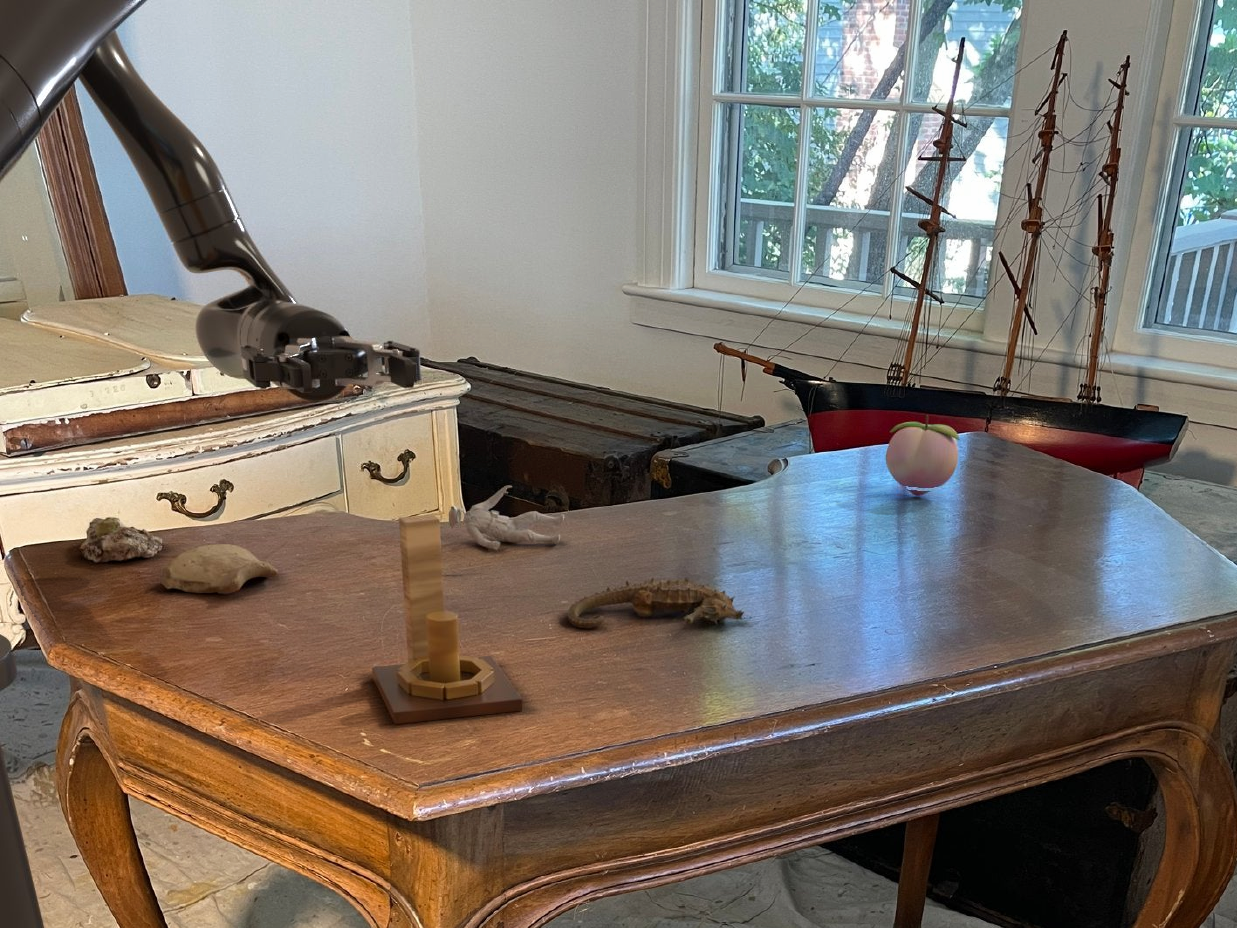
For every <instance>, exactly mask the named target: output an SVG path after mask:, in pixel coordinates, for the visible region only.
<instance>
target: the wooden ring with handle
mask: <svg viewBox="0 0 1237 928" xmlns="http://www.w3.org/2000/svg"><path fill="white" fill-rule="evenodd" d="M398 526H399V527H398V528H399V540H400V541H399V542H400V556H401V557H400V559H401V573H402V587H403V589H402V590H403V604H404V616H405V617H404V618H405V619H404V620H405V633H406V649H407V662H406V663H404V664H405V665H403V666H402V667H401V668H399V669H398V670H397V671H398V672H397V679H398V684H399V685H400V686H401V687H402V688H403V689H404V690H405V691H406V692H407V693H408V694H412V695H413V696H420V697H427V698H433V699H440V700H443V699H444V698H446V699H447V700H448V699H454V698H460V697H466V696H473V695H478V693H482V692H484V691H485V690H486V689H487V688H488V687H489V686H490V685H491V684H493V683H494V669H493V668H492V667H491V666H490V665H488V664H487V663H486V662H485V661H484V660H482V659H478V658H476V657H477V656H476V657H475V656H469V655H468V656H467V655H463V654H459V660H460V671H465V672H472V673H473V674H474V675H475V676H474V677H473V678H472V679H470V680H464V681H458V682H452V683H438V682H431V681H424V680H418V679H417V678H416V677H417V676H419V675H420V674H421V673H425V672H429V655H428V637H427V620H426V616H427V615H428V614H429V613H432V612H437V611H445V604H444V603H445V602H444V583H443V564H442V563H443V562H442V542H441V523H440V518H438V517H437V516H436V515H434V514H423V515H422V514H421V515H413V516H402V517H399V518H398Z"/></svg>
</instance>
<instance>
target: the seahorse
mask: <svg viewBox="0 0 1237 928" xmlns="http://www.w3.org/2000/svg"><path fill="white" fill-rule="evenodd" d="M625 584H626V585H621V586H620V587H614V588H612V587H610V586H607V588H606V590H602V591H600V592H598V591H596V592H595V594H590V595H589V596H585V595H584V596H583V598H582V599H579V600H578V601H575V603H573V604H571V606H570V607H569V609H568V611H567V618H568V621H569V623H570V625H571V626H574V627H576V628H580V629H591V628H596V627H598V626H600V625H602V624H603V623H604V622H605V617H604V615H602V614H595V615H593V616H592V617H591V618H582V617H580V616H581V615H582V614H583V613H585V612H587V611H590V610H592V609H596V608H600V607H605V606H611V605H616V606H617V605H618V604H620V605H623V604H628V603H629V604H632V606H633V608H632V610H633V611H634V612H635V613H636V614H637V615H638V617H641V618H645V617H646V618H647V617H650V616H652V615H653V614H655V613H656V612H659V611H660V610H663V611H665V612H666V613H669V612H670V611H675V612H676V613H678V612H681V611H684V612H685V613H688V612H689V611H690V610H693V612H692V613H690V614H686V615H685V616H684V617H683V620H684V622H685V624H687V625H689V624H692V623H693V622H694V621H697V620H699V619H701V620H703V621H711V622H714V623H715V624H716V626H718V620H720V623H721V624H723V623H724V620H725V619H727V618H729V619H732V620H738V621H739V620H743V615H744V613H745V612H744V611H742V609H741V610H736V609H735V606H734V604H733V603H734V599H735V597H736V596H732V597H730V596H728V595H727V594H726V589H724V590H722V591H719V590H718V589H716V588H711V587H709V584H708V583H707V584H705V585H704V584H702V585H701V584H698V583H697V582H694V583H693V582H691V581H690V579H689V578H688V577H687V576H686V577H685V578H684V580H679V579H677V580H675V581H673V580H671V579H668V580H663V579H661V580H656V579H655V578H654V577H652V578H651V580H650V581H648V580H645V581H644V582H640V583H634V584H631V583H630V582H629V581H628V580H626V581H625Z"/></svg>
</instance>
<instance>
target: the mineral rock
mask: <svg viewBox="0 0 1237 928" xmlns="http://www.w3.org/2000/svg"><path fill="white" fill-rule="evenodd" d="M85 533H86V539H85V541H83V542H82V543H81V545H80V546H79V548H78V551H79V552H81V555H83V556H82V557H83V558H85V559H87V560H88V561H93V562H94V563H106V562H109V561H116V562H121V561H127V560H130V559H135V558H140V557H142V558H144V559H145V558H146V559H148V558H152V557H155V555H157V554H158V552H160V551H161V550H162V549H163V546H162V545H163V539H162V538H160V537H158V536H155V535H153V534H152V533H151V532H150V531H148V530H146V529H144V528H142V529H138V528H136V527H135V526H126V525H125V524H123V522H121V520H120V518H119V517H113V516H112V517H111V516H108V517H105V518H99V517H95V518H93V519H92V520H91V521H89V524H88V528H87V529H86V531H85Z"/></svg>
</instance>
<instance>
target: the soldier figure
mask: <svg viewBox="0 0 1237 928" xmlns="http://www.w3.org/2000/svg"><path fill="white" fill-rule="evenodd" d="M510 488H513V486H512V485H505V486H504V487H502V488H501V489H500V490H499V489H498V491H497V492H496V493H494V494H493V495H492V496H490V497H489V498H488V499H486V500H485V501H483V502H480V503H477V504H474V505H472V506H471V508H470V509H469V510H468V511H466V512H465V509H464V508H459V507H458V506H454V505H452V506H451V507H450V509H449V511H448V523H449V526H450V527H451V530H454V528H455V526H456V525H457V524H461V521H463V522H464V523H465V525H466V526H465V527H466V531H467V532H468V534H469V535H470V536H471V537H472V538H473V539H474V541H475V542H476V543H477V544H478V545H479V546H482V547H484V548H487V549H492V550H496V551H498V549H499V548H500V546H501V542H500V541H502V542H505V543H507V542H508V543H521V542H527V543H528V542H529V543H533V544H536V543H547V542H548V543H552V544H555V545H558V544H559V542H560V540H561V534H556V535H543V534H539V533H536V532H535V531H533V530H531V529H524V528H525V527H527V526H531V525H532V524H535V523H536V524H554V525H555V526H556V527H557V526H558V527H561V526H562V524H563V523H564V519H565V514H564V513H562V514H561V515H560V516H557V517H554V516H550V515H545V514H543V513H540V512H538V511H536V510H534V511H528V512H524V513H521V514H520V515H517V516H515V517H513V518H512V519H510V517H509V516H507V515H500V511H497V510H490V509H492V508H493V507H495V506H496V505H497V504H498V502H499V501H500V500H501V498H502V497H503V496H504V494H509V492H508V491H507V489H510ZM462 518H463V519H462ZM483 534H484V535H487V536H488V537H490V538H495V539H497V540H500V541H497V540H493V541H490V540H489V539H487V538H485V537H484V535H483Z"/></svg>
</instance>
